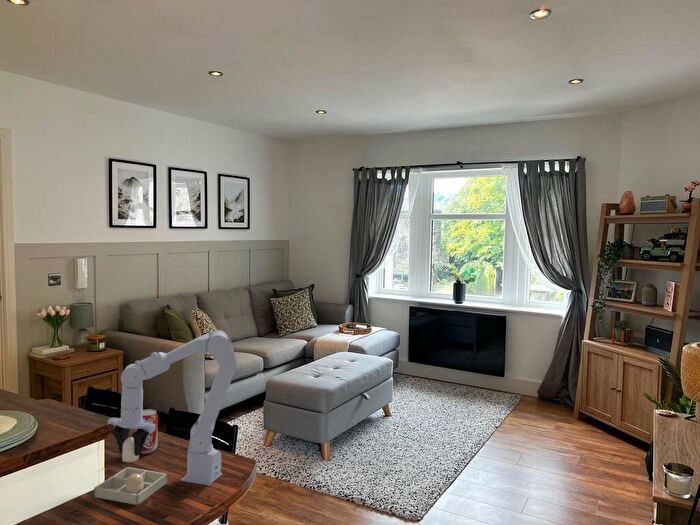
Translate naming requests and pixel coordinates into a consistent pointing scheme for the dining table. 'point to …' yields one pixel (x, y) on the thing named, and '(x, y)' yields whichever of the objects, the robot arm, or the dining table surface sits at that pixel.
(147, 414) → the soda can
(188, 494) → the dining table surface
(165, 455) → the dining table surface
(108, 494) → the carton
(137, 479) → the brown egg
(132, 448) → the white egg
